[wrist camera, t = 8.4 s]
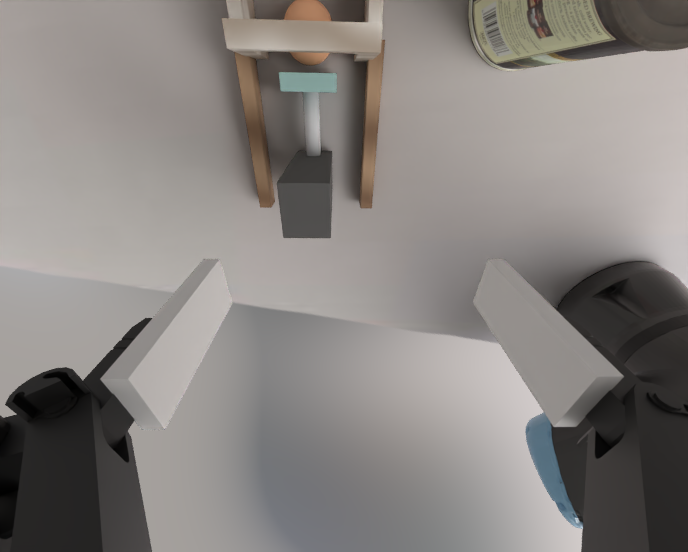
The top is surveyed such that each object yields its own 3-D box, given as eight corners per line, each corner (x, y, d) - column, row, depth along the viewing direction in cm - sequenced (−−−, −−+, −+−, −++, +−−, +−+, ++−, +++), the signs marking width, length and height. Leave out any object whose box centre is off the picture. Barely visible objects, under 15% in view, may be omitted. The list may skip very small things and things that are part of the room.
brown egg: (333, 7, 18) (333, -10, 20) (275, 5, 18) (281, -11, 20) (334, 75, 22) (334, 54, 24) (285, 73, 22) (289, 53, 24)
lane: (369, 202, 31) (376, 224, 26) (264, 201, 30) (249, 224, 25) (389, -64, 20) (409, -123, 14) (222, -70, 19) (177, -135, 14)
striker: (336, 190, 30) (336, 238, 20) (296, 189, 30) (277, 237, 20) (336, 76, 24) (337, 63, 14) (287, 75, 24) (253, 62, 14)
